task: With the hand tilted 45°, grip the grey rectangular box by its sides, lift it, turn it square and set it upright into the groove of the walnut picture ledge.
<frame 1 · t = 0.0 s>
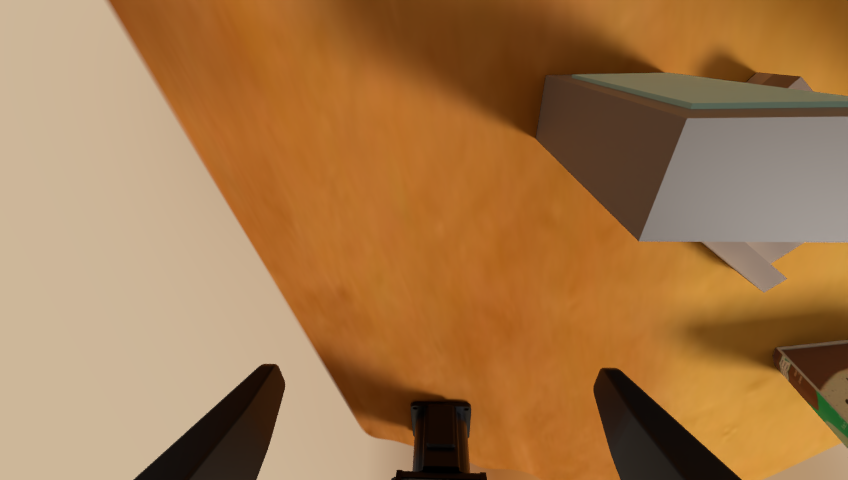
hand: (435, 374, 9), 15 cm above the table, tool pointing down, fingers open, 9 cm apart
picture ledge: (744, 187, 21), on the table
food container: (820, 361, 29), on the table
grey rectangular box: (596, 107, 19), on the table
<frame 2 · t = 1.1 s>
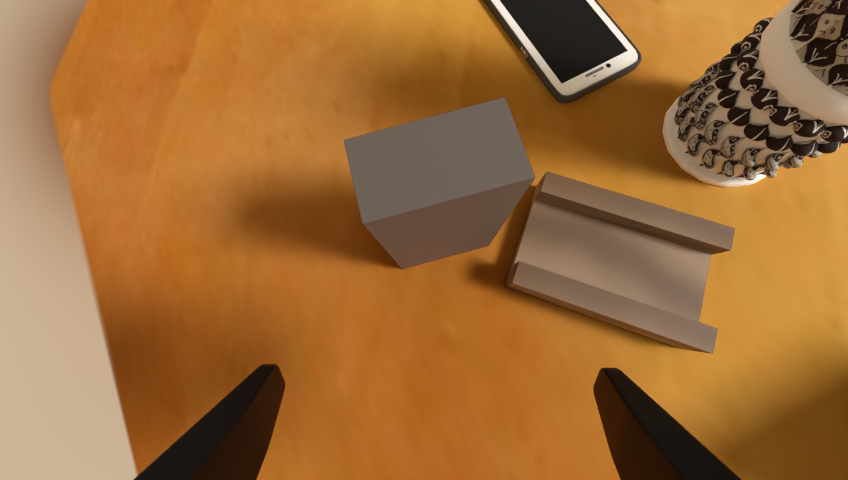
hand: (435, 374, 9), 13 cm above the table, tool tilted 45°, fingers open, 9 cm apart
picture ledge: (604, 261, 23), on the table
decorative candle: (718, 137, 24), on the table
cell phone: (550, 27, 28), on the table
grey rectangular box: (439, 235, 24), on the table
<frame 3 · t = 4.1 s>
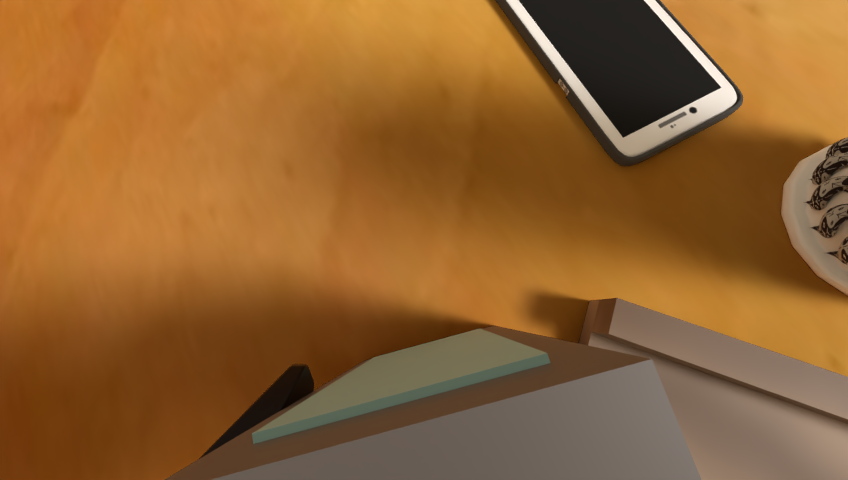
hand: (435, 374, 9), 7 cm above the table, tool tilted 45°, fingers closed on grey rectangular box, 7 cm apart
picture ledge: (705, 435, 14), on the table
cell phone: (598, 49, 19), on the table
grey rectangular box: (438, 380, 15), on the table, touching gripper
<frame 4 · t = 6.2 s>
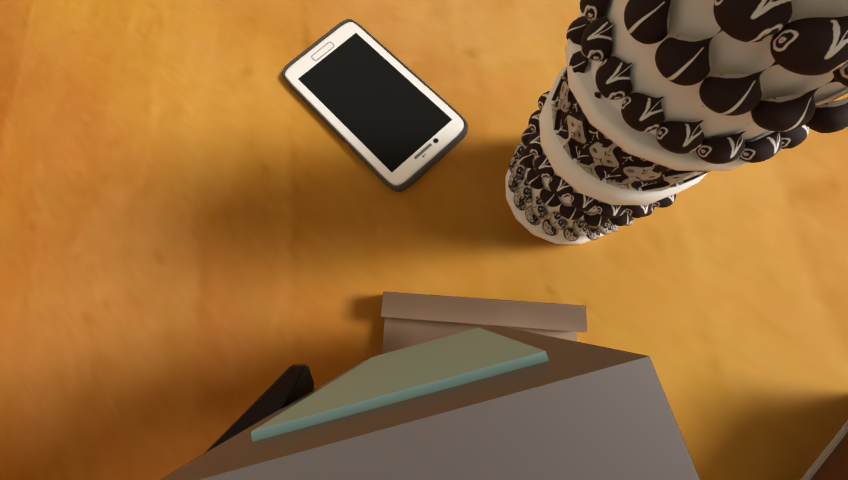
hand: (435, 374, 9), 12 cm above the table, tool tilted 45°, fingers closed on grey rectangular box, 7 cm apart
picture ledge: (475, 362, 21), on the table
decorative candle: (563, 189, 23), on the table
cell phone: (374, 106, 26), on the table
grey rectangular box: (438, 380, 15), point 6 cm above the table, touching gripper
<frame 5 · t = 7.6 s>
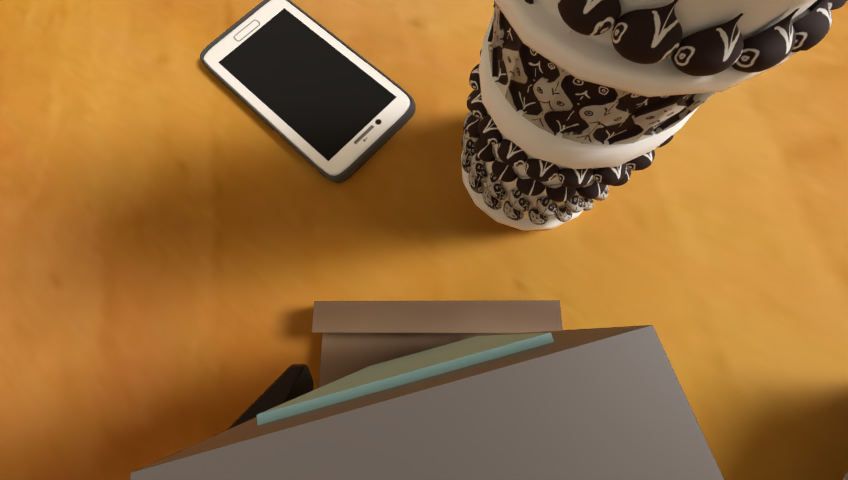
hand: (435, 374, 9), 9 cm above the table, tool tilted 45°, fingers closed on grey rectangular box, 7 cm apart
picture ledge: (436, 379, 17), on the table
decorative candle: (528, 167, 20), on the table
cell phone: (309, 89, 23), on the table
grey rectangular box: (435, 391, 15), point 2 cm above the table, touching gripper, picture ledge
when the fingers open (9 cm above the table, at t = 8.4 s): grey rectangular box drops 1 cm, resting on picture ledge.
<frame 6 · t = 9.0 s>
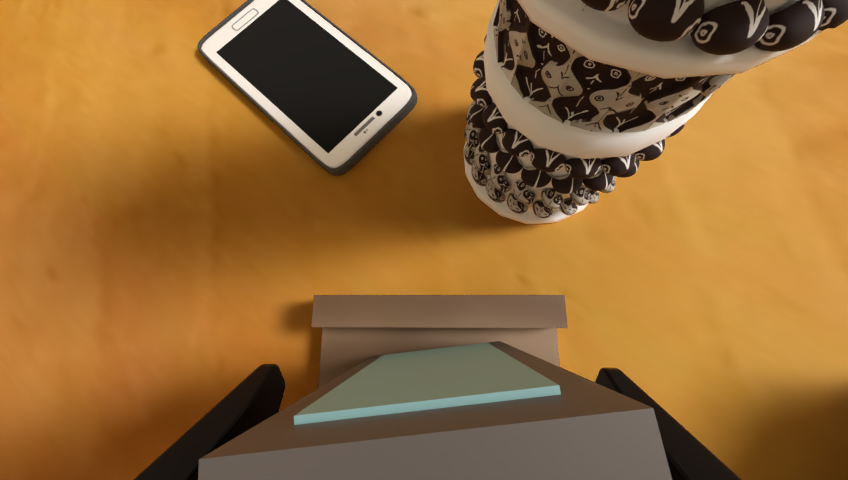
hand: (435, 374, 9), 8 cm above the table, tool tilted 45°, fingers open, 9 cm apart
picture ledge: (437, 374, 17), on the table
decorative candle: (532, 160, 20), on the table
cell phone: (309, 80, 22), on the table
grey rectangular box: (440, 385, 16), point 1 cm above the table, touching picture ledge
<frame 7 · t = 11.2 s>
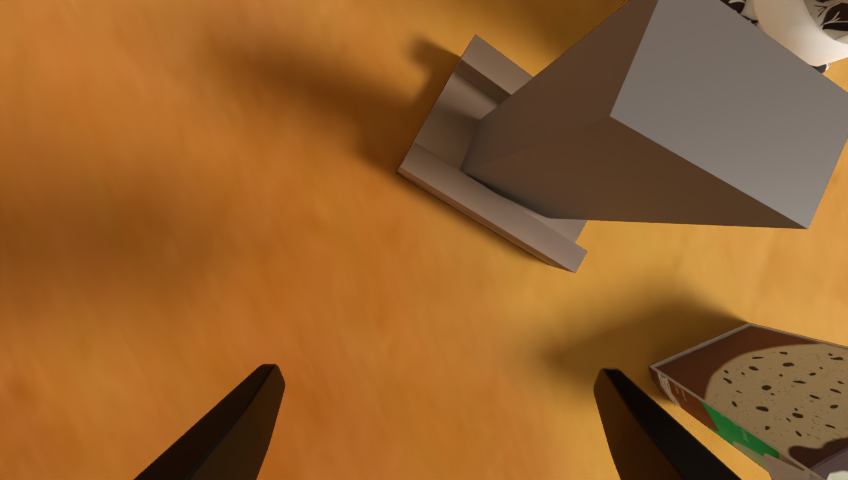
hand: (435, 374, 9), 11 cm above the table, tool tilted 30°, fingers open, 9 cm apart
picture ledge: (508, 167, 20), on the table
decorative candle: (664, 56, 22), on the table
food container: (704, 378, 25), on the table
grey rectangular box: (515, 170, 19), point 1 cm above the table, touching picture ledge
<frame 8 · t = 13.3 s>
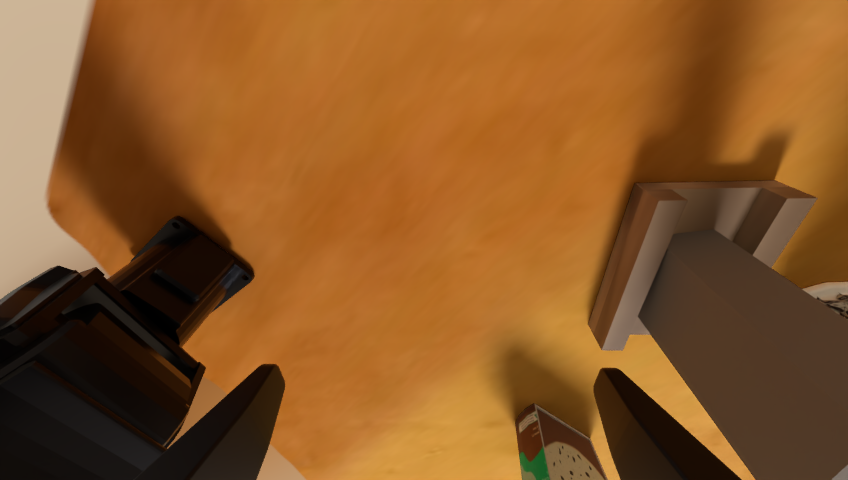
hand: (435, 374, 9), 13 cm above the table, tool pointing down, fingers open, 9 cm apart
picture ledge: (667, 263, 22), on the table
decorative candle: (802, 322, 25), on the table
food container: (539, 430, 34), on the table
grey rectangular box: (670, 274, 21), point 1 cm above the table, touching picture ledge
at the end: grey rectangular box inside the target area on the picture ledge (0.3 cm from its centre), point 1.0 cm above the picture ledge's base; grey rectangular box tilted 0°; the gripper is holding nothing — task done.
